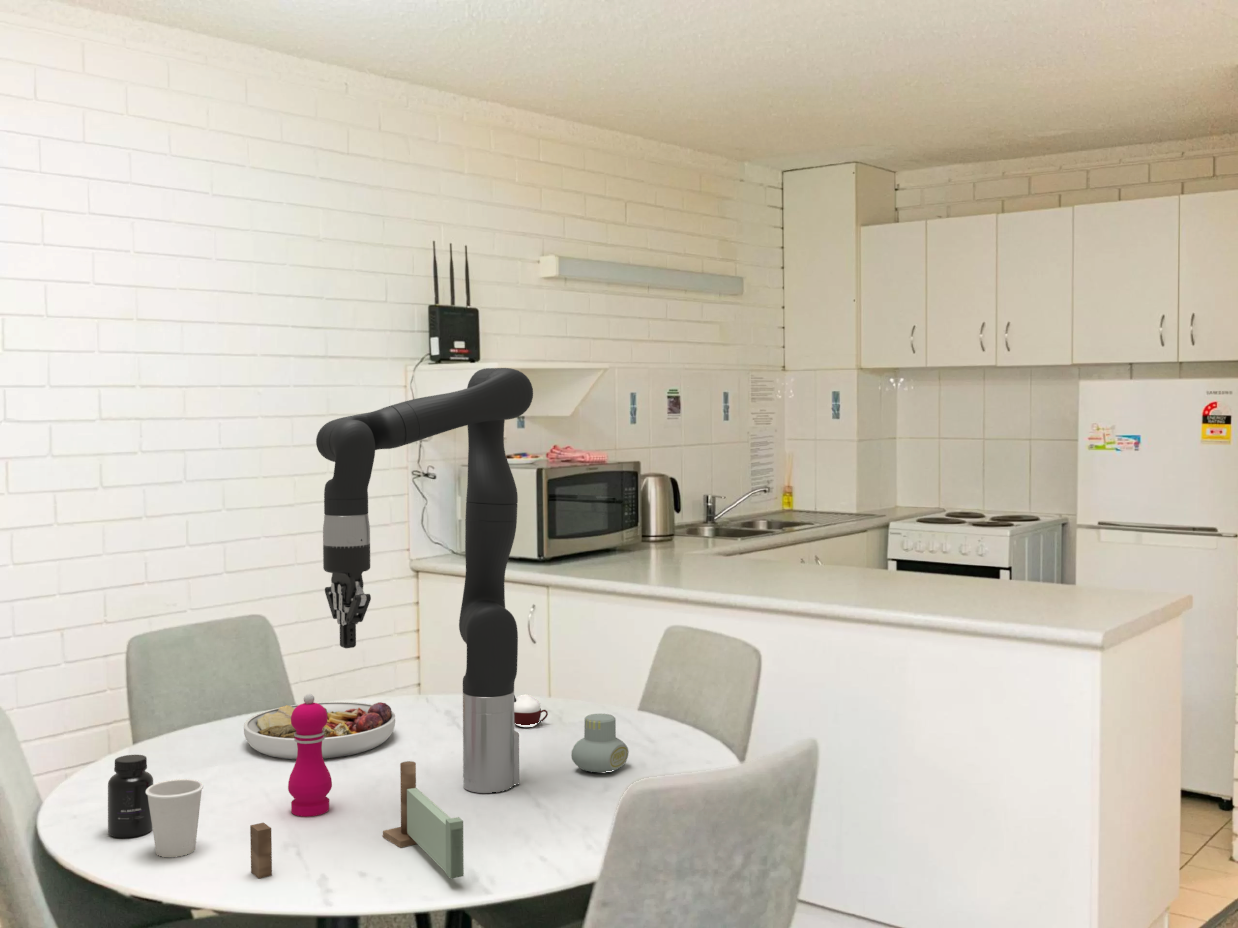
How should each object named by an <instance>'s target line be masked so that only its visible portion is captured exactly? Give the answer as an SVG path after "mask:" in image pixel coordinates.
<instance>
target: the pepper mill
mask: <svg viewBox="0 0 1238 928" xmlns="http://www.w3.org/2000/svg"><path fill="white" fill-rule="evenodd" d="M318 703H319V702H315V696H314V695H313V694H311V693H307V694H305V695H304V696H303V703H299V704H300V705H299V706H297V707H296V708H295V709H294V710H293V712H292V715H291V724H292V726H293V727H294V729H295V730H296V732H295V733H294V736H295V738H294V741H295V742H297V748H298V751H297V759H295V763H294V766H293V769H292V771H291V772H290V775H289V779H288V784H287V790H288V793H289V794H290V795H291V797H292V798H293V800H292V801H291V802H290V803H291V807H290V809H291V814H293V815H294V816H297V817H305V818H307V817H309V818H310V817H315V816H316V817H317V816H320V815H323V814H326V813H327V812H328V811H329V810H330V799H329V797H328V794H329V793H330V792H331V790H332V788H333V782H332V780H333V779H332V776H331V773H330V770H329V769H328V766H327V765H326V762H325V759H323V756H322V741H323V740H324V739H325V737H324V733H325V731H324V730H322V729H323V728H324V726H325V725H326V723H327V718H328V717H327V712H326V710H325V708H324V707H323V706H322V705H320V704H318Z"/></svg>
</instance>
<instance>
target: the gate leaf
mask: <svg viewBox="0 0 1238 928" xmlns="http://www.w3.org/2000/svg"><path fill="white" fill-rule="evenodd" d="M407 834H408V835H409V836H410V837H411V838H412V839H413V840H414V841H415V842H416V843H417V844H416V845H418V846H419V847H420V848H421V849H422V850H423V851H424V852H425V853H426V854H427V855H428V857H430V858H431V859H432V860H433V861H434V862H435V864H437V866H439V868H441V869H442V870H443V871H444V873H445V875H446V876H447V877H448V878H449V879H455V878H461V877H464V875H465V874H464V869H465V868H464V820H463V819H462V818H461V817H459V816H457V817H450V816H449V815H448V814H447V813H446V812H445V811H443V810H442V809H441V808H440V807H439V806H438V805H436V804H435V803H434V802H433V800H431V799H430V798H429V797H428V796H427V795H426V794H424V793H423V792H422V791H421V790H420V789H419V788H417V787H416V788H412V789H407Z"/></svg>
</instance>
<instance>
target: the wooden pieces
mask: <svg viewBox="0 0 1238 928" xmlns="http://www.w3.org/2000/svg"><path fill="white" fill-rule="evenodd" d="M416 764H417V763H416V762H415V761H412V760H410V761H408V760H407V761H402V762H400V764H399V767H400V775H399V777H400V826H399V827H393V828H390V829H385V830H382V837H383V838H384V839H386V840H387V841H388V842H390V843H392V844H393V845H395V846H397V847H398V848H400V849H403V848H405V847H410V846H413V845H418V844H417V843H416V842H415V841H414V840H413V839H412V838H411V837H410V836H409V835H408V834H407V789H412V788H417V765H416ZM249 833H250V872H251V874H252V875H253V876H255V877H256V878H257V879H262V878H267V877H271V876H273V863H272V861H273V859H272V857H273V856H272V855H273V853H272V850H273V849H272V847H273V846H272V844H273V843H272V827H271V826H269V825H268V824H266V823H265V822H260V823H256V824H251V825H250V832H249Z"/></svg>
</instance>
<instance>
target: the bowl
mask: <svg viewBox="0 0 1238 928" xmlns="http://www.w3.org/2000/svg"><path fill="white" fill-rule="evenodd" d="M317 703H318V704H320V705H322V706H323V707H324V708H325V710H326V712H327V717H328V718H327V723H326V725H325V726H324V728H323V729H322V730H324V731H325V733H324V737H325V739H324V740H323V741H322V756H323V760H325V759H334V758H335V759H336V758H343V757H348V756H352V755H356V754H361V753H364V752H368V751H370V750H372V749H374V748H377V747H379V746H380V745H382V744H383V743H385V742H386V741H387V740H388V738H389V737H390V736H392V734H393V732H394V730H395V726H396V713H394V711H393V710H392V708H391V706H390V705H389V704H387V703H386V702H382V701H381V702H376V703H372V704H371V703H366V702H365V703H364V702H353V701H352V702H351V701H324V702H323V701H322V702H319V701H318V702H317ZM300 704H301V703H298V704H293V705H292V704H291V705H287V704H286V705H284V706H280V707H276V708H273V709H269V710H265V711H262V712H259V713H257V714H255V715H252V716H251V717H249V718H247V720H246V721H245V722H244V724H243V733H244V737H245V740H246V742H247V743H248V745H250V747H251V748H252V749H253V750H255V751H257V752H258V753H261V754H263V755H265V756H269V757H273V758H277V759H278V758H280V759H285V760H296V759H297V751H298V748H297V742H295V741H294V738H295V736H294V733H295V732H296V730H295V729H294V727H293V726H292V724H291V715H292V712H293V710H294V709H295V708H296V707H297V706H299V705H300Z"/></svg>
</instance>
